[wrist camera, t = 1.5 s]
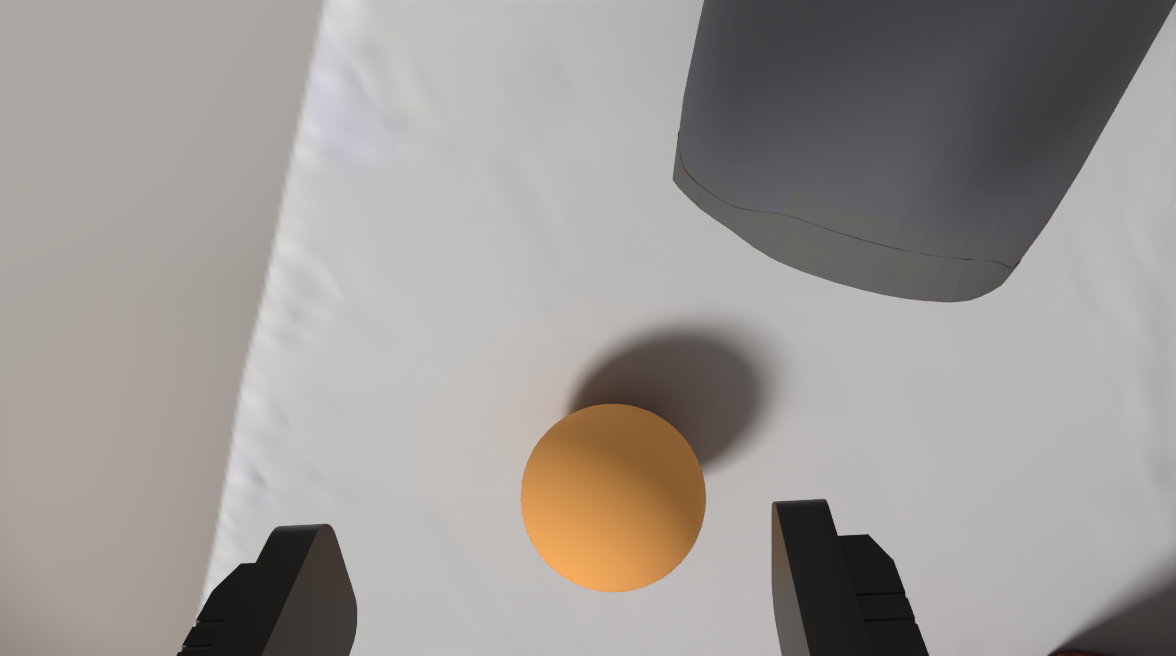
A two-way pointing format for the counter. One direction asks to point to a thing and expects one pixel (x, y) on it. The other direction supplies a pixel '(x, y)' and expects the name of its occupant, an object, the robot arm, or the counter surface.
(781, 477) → the counter surface
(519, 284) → the counter surface
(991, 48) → the bluetooth speaker
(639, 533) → the ball
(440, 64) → the counter surface
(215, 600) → the robot arm
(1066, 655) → the plant pot
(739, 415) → the counter surface
